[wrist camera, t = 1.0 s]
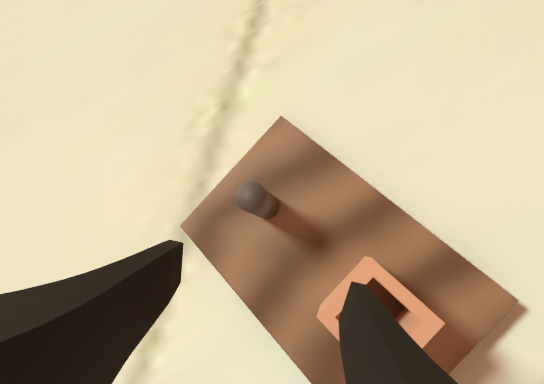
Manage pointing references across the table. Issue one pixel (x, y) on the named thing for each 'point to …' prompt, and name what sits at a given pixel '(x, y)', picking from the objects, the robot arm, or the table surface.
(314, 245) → the plate
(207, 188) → the table surface
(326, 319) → the collar
